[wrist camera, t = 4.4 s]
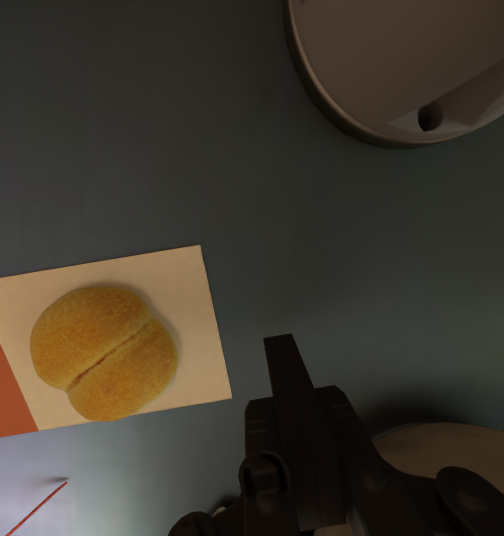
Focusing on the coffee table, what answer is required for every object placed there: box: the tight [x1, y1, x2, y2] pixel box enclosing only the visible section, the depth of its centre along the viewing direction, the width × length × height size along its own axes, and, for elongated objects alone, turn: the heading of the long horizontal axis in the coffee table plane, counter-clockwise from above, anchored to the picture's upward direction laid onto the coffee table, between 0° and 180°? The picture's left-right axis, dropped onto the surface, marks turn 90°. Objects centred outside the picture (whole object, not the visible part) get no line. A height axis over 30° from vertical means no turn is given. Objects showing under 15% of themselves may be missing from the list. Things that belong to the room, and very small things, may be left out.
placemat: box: [0, 245, 232, 437], centre depth 18 cm, size 22×12×1 cm, turn 99°
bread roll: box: [30, 286, 178, 422], centre depth 16 cm, size 8×9×4 cm
